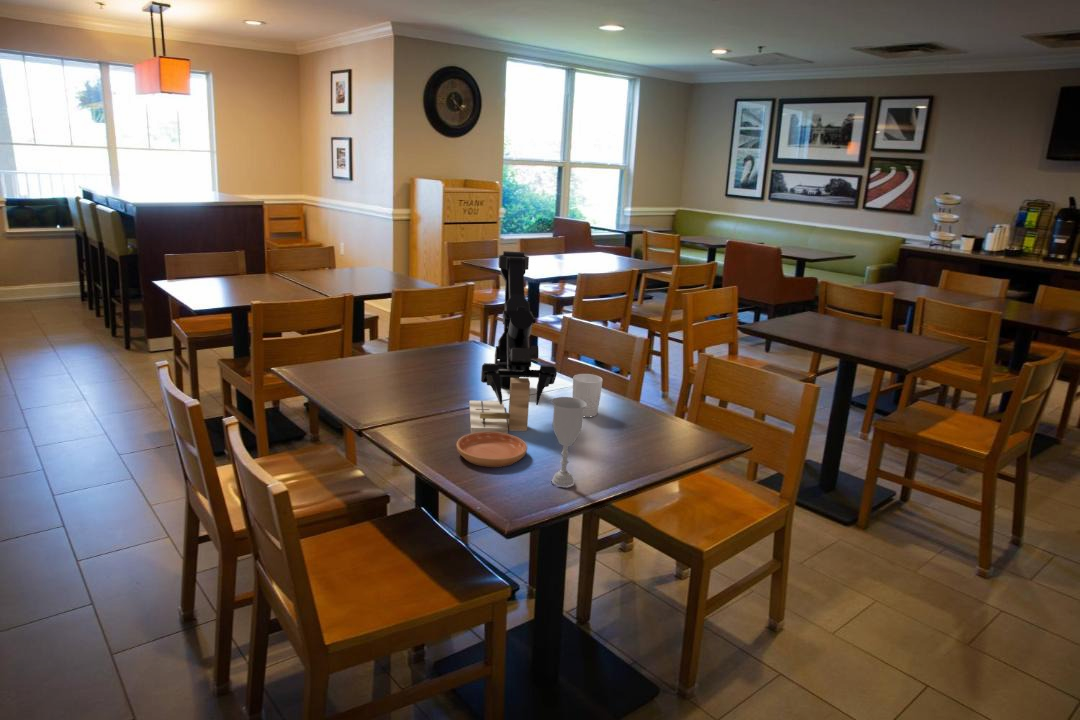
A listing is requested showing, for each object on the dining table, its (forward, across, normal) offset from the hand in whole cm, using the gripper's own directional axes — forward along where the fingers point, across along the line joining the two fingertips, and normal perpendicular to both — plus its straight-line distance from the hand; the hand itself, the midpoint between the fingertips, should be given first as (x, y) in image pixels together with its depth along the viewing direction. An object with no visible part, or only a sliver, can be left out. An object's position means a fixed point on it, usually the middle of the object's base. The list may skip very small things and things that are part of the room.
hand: (519, 404), depth 177 cm
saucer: (+16, -7, -6) cm, 19 cm away
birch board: (0, -7, +10) cm, 12 cm away
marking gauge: (+4, -4, +6) cm, 8 cm away
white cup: (-4, +19, +14) cm, 24 cm away
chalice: (+26, +7, -16) cm, 32 cm away
